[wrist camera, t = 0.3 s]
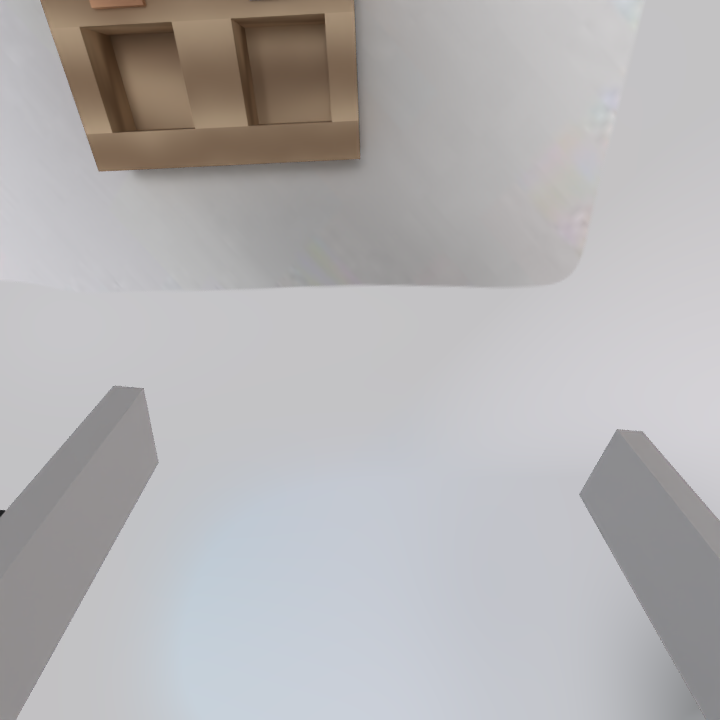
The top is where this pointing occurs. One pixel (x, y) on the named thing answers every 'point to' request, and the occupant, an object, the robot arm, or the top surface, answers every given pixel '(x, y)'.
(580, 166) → the top surface
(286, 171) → the top surface
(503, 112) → the top surface
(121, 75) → the socket board
